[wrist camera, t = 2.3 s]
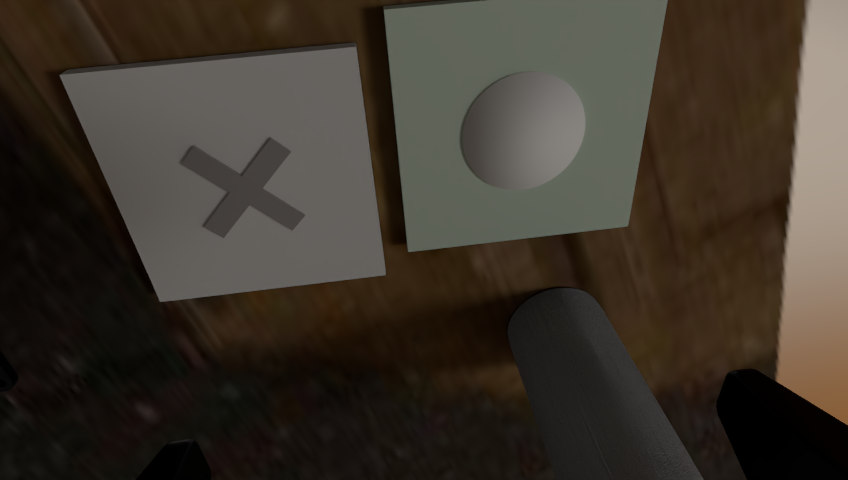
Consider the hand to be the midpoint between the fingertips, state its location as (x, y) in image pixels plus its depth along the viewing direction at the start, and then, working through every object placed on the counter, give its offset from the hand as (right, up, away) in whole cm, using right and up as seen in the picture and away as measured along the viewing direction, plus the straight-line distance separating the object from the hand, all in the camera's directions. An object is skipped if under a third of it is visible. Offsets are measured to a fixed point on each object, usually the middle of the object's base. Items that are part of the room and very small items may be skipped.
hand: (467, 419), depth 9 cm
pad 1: (-7, +5, +10) cm, 14 cm away
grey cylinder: (+5, -1, +16) cm, 17 cm away
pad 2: (+3, +7, +10) cm, 13 cm away
